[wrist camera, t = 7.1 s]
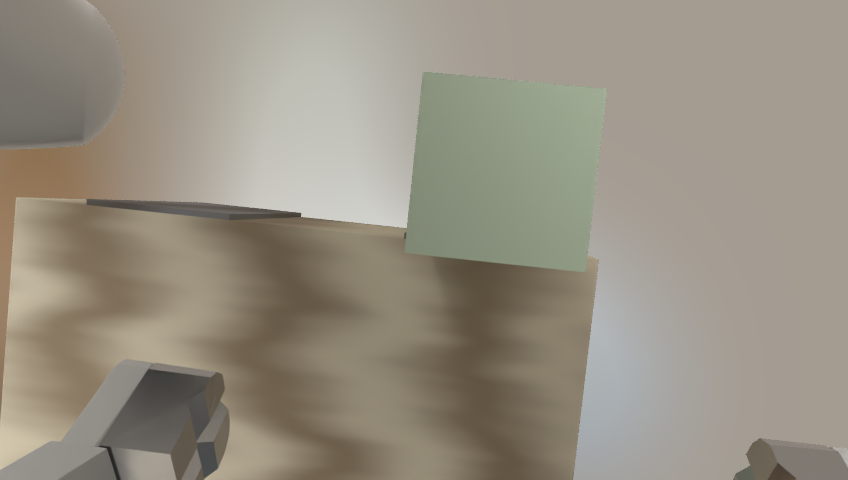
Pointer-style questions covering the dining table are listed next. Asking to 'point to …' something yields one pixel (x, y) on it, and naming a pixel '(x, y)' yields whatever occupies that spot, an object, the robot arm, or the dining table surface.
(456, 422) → the stand
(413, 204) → the green block
